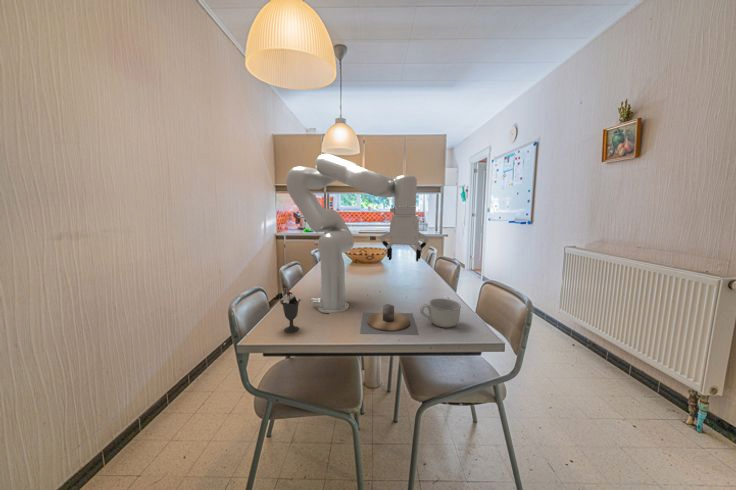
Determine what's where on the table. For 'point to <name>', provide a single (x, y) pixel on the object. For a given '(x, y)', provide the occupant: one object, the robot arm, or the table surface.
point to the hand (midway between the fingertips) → (403, 260)
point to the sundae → (290, 310)
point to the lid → (388, 320)
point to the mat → (368, 330)
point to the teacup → (442, 312)
